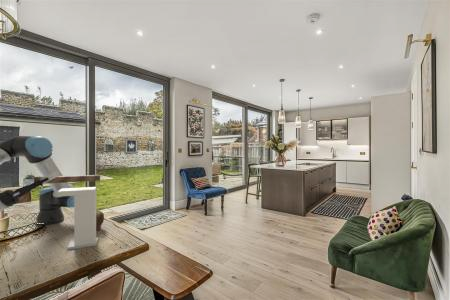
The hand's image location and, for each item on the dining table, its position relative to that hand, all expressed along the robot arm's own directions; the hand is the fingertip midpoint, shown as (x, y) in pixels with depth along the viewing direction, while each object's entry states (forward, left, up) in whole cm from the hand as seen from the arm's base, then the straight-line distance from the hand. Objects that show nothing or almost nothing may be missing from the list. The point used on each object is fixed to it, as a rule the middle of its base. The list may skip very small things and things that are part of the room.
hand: (56, 174), depth 113 cm
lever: (-3, +6, -4) cm, 8 cm away
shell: (-24, +5, -38) cm, 46 cm away
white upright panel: (-4, +8, -38) cm, 39 cm away
